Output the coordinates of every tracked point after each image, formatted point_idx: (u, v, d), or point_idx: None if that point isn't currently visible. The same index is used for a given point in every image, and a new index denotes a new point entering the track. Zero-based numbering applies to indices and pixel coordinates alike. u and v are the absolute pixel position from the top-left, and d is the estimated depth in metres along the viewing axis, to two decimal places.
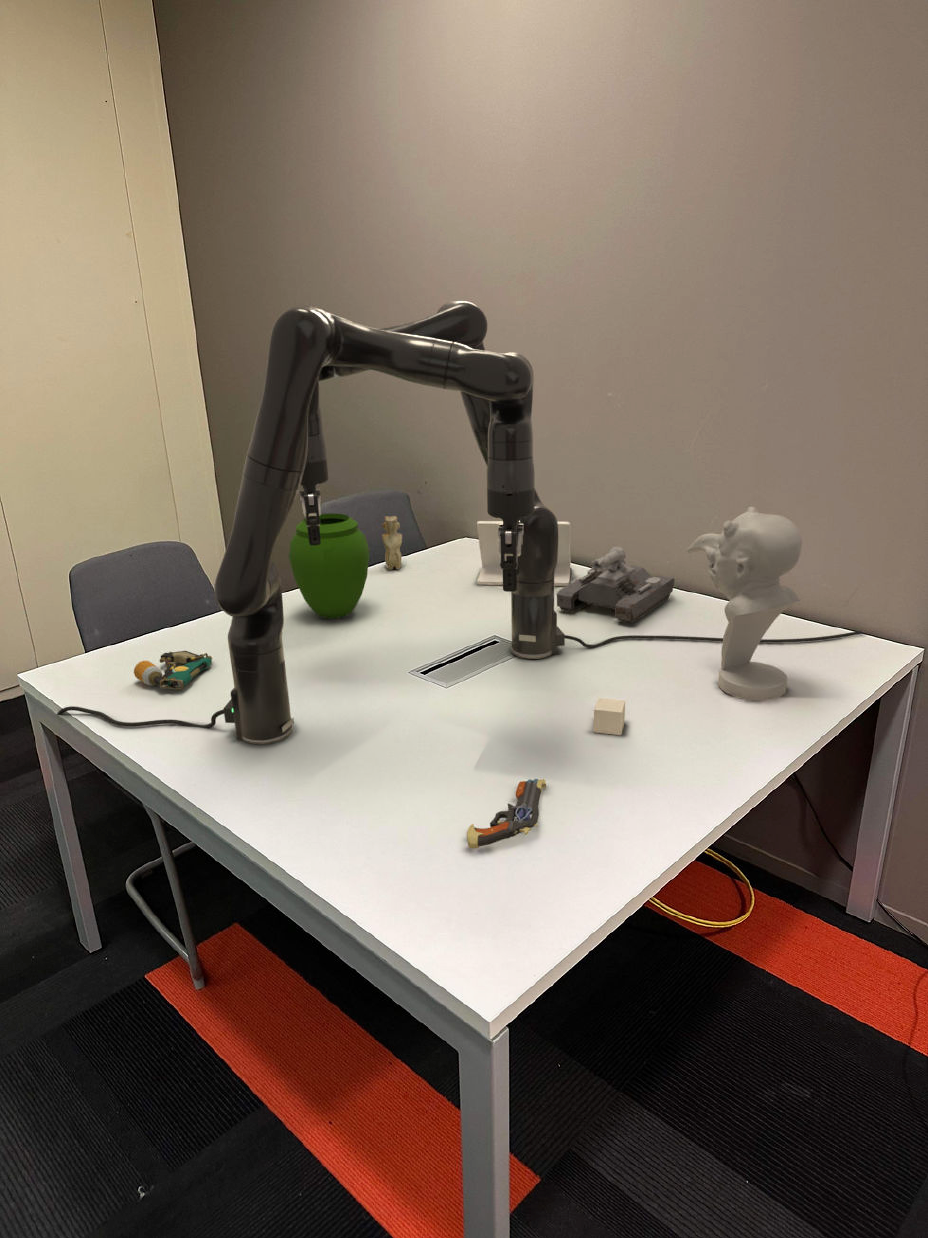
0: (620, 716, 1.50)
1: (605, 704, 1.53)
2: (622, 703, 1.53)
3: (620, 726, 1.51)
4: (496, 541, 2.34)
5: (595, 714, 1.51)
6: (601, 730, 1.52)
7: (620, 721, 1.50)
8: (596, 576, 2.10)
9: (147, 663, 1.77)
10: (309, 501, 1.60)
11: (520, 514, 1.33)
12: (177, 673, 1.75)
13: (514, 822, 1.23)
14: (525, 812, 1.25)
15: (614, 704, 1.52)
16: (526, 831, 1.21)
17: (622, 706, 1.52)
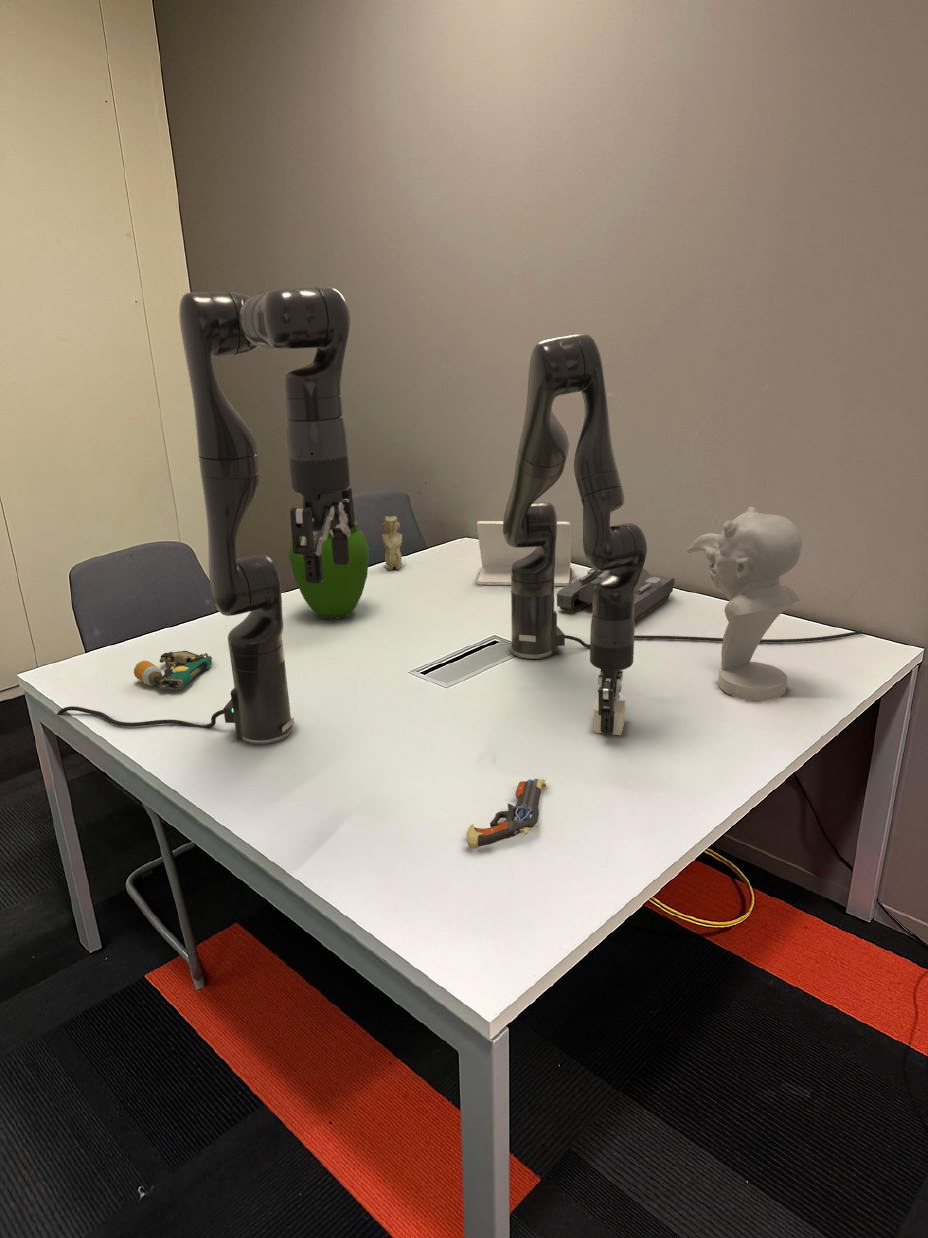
0: (620, 716, 1.50)
1: None
2: (622, 703, 1.53)
3: (620, 726, 1.51)
4: (496, 541, 2.34)
5: (595, 714, 1.51)
6: None
7: (620, 721, 1.50)
8: (596, 576, 2.10)
9: (147, 663, 1.77)
10: (603, 696, 1.45)
11: None
12: (177, 673, 1.75)
13: (514, 822, 1.23)
14: (525, 812, 1.25)
15: None
16: (526, 831, 1.21)
17: (622, 706, 1.52)
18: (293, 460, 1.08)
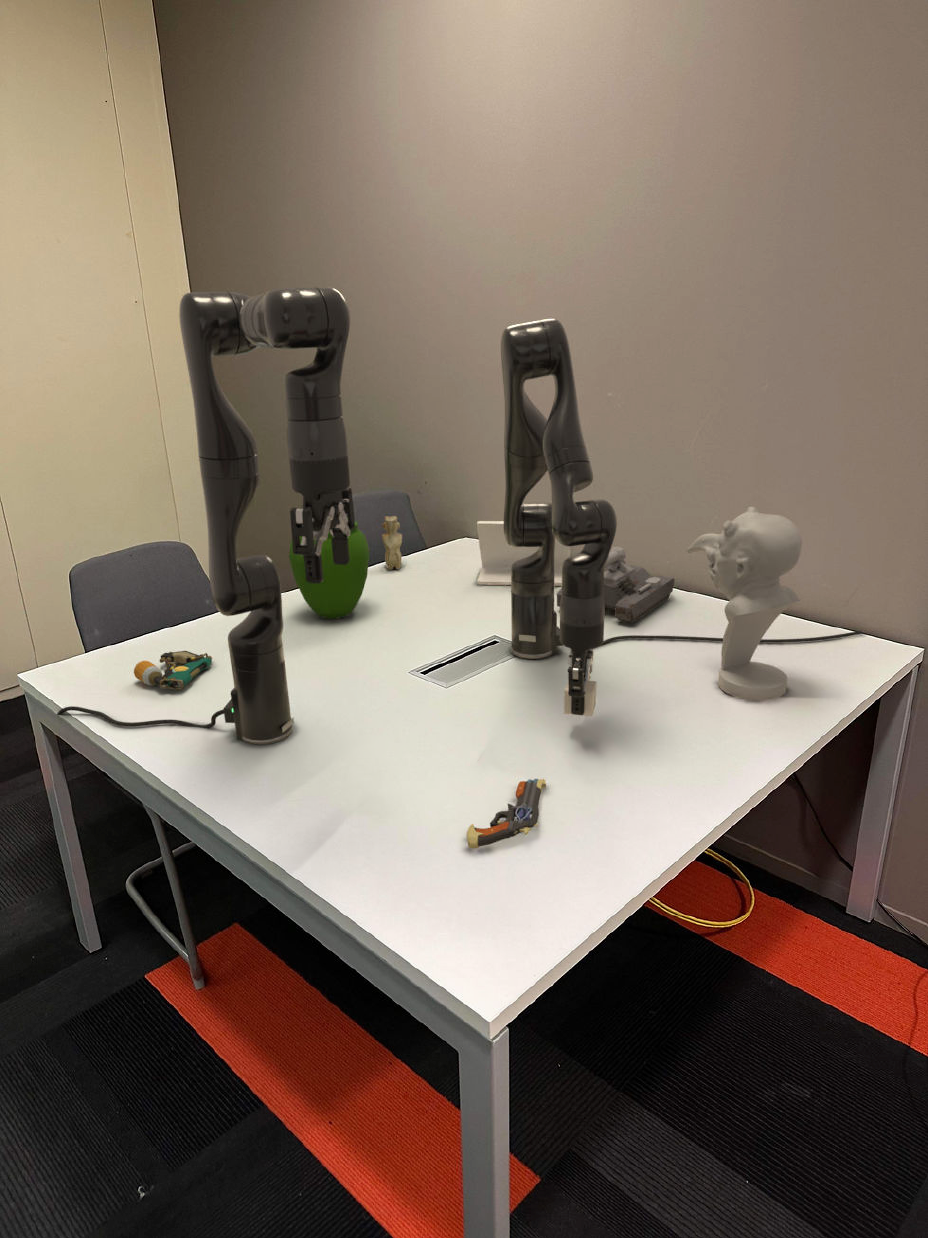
0: (591, 697, 1.47)
1: None
2: (593, 684, 1.50)
3: (591, 707, 1.48)
4: (496, 541, 2.34)
5: (565, 695, 1.48)
6: None
7: (591, 702, 1.47)
8: None
9: (147, 663, 1.77)
10: (573, 676, 1.42)
11: None
12: (177, 673, 1.75)
13: (514, 822, 1.23)
14: (525, 812, 1.25)
15: None
16: (526, 831, 1.21)
17: (593, 687, 1.49)
18: (293, 460, 1.08)
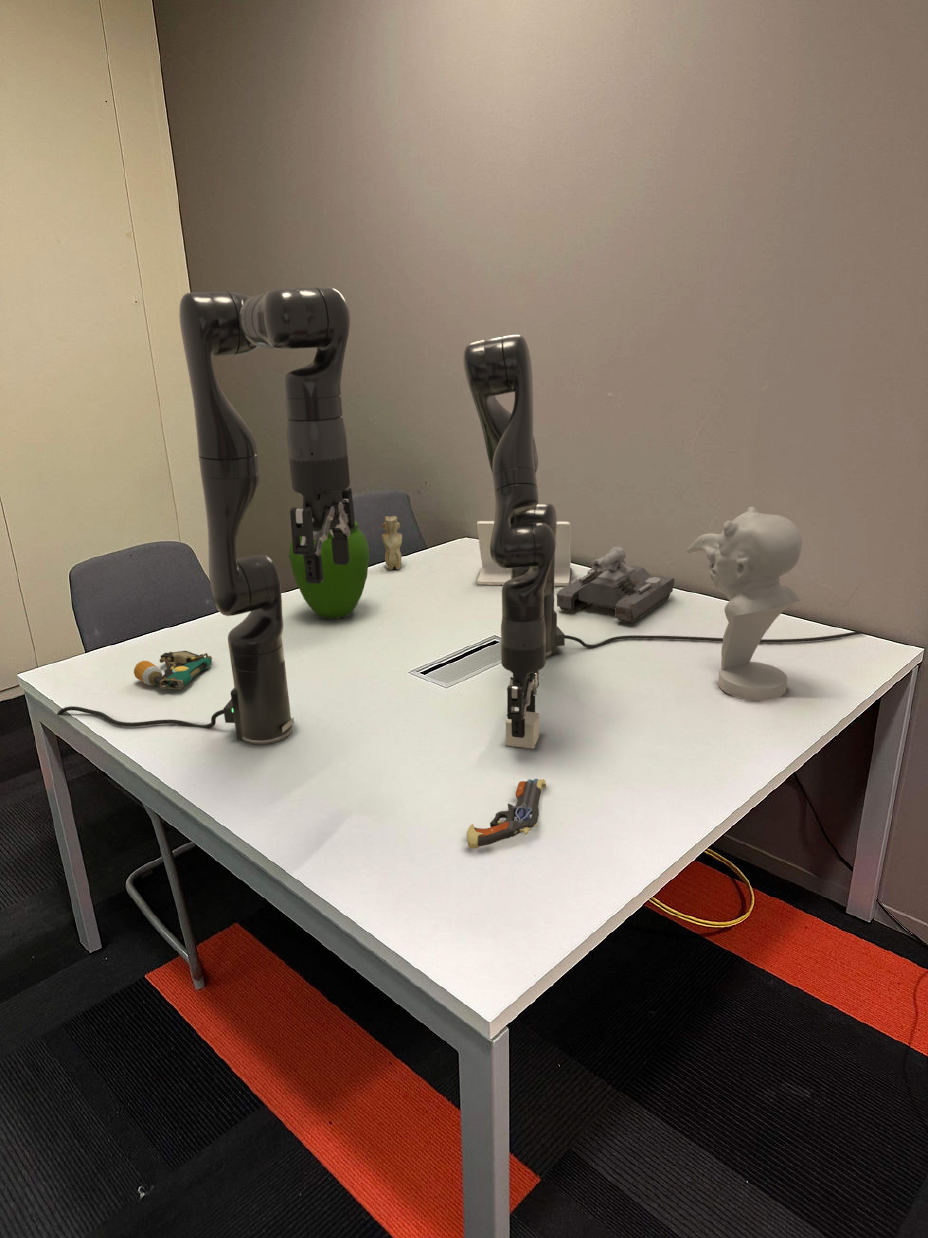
0: (532, 729, 1.46)
1: None
2: (536, 715, 1.49)
3: (532, 739, 1.47)
4: None
5: (507, 727, 1.48)
6: (514, 743, 1.48)
7: (532, 734, 1.47)
8: (596, 576, 2.10)
9: (147, 663, 1.77)
10: (512, 694, 1.40)
11: None
12: (177, 673, 1.75)
13: (514, 822, 1.23)
14: (525, 812, 1.25)
15: (527, 717, 1.49)
16: (526, 831, 1.21)
17: (535, 719, 1.48)
18: (293, 460, 1.08)
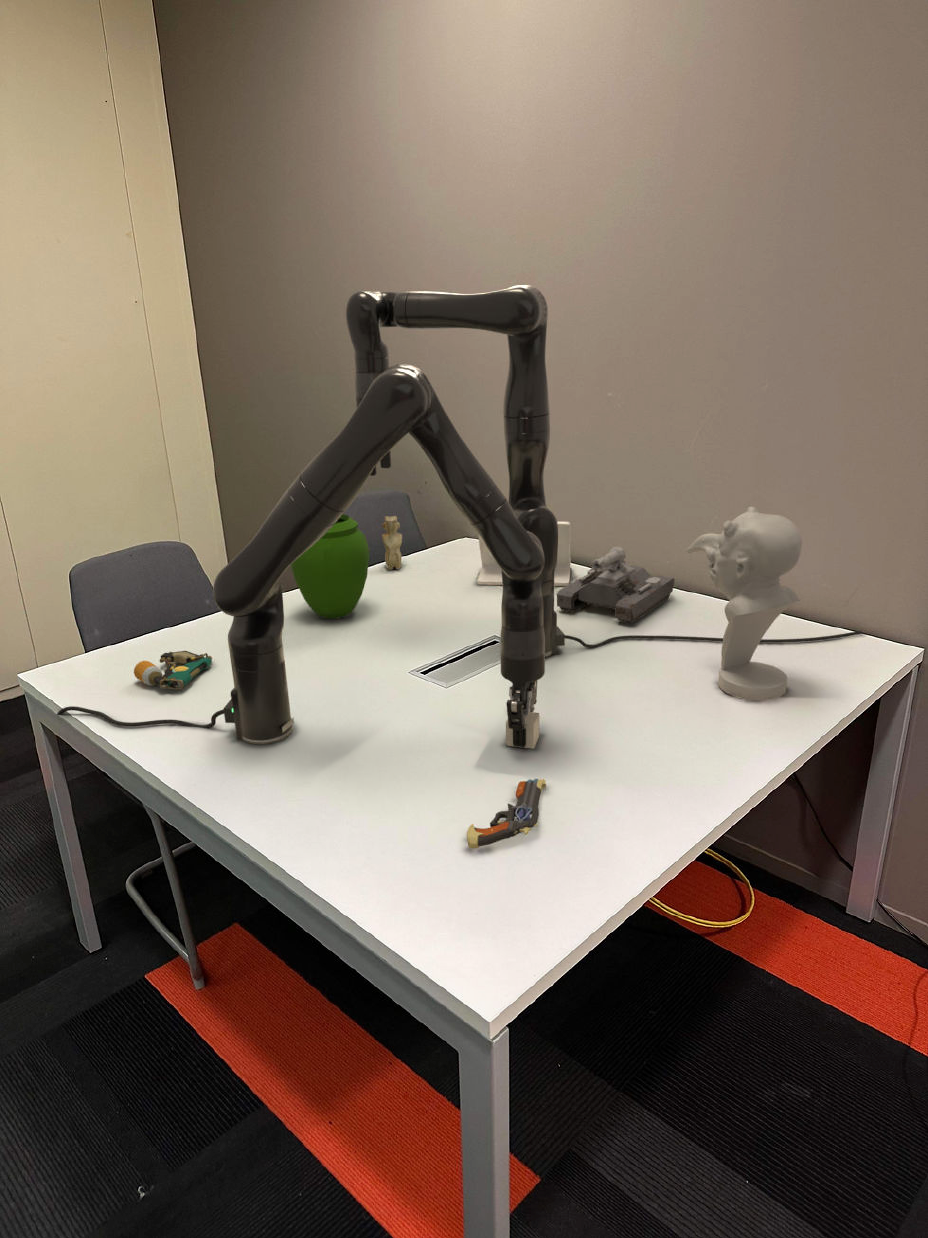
0: (532, 729, 1.46)
1: None
2: (536, 715, 1.49)
3: (532, 739, 1.47)
4: None
5: (507, 727, 1.48)
6: None
7: (532, 734, 1.47)
8: (596, 576, 2.10)
9: (147, 663, 1.77)
10: None
11: None
12: (177, 673, 1.75)
13: (514, 822, 1.23)
14: (525, 812, 1.25)
15: (527, 717, 1.49)
16: (526, 831, 1.21)
17: (535, 719, 1.48)
18: (506, 657, 1.42)
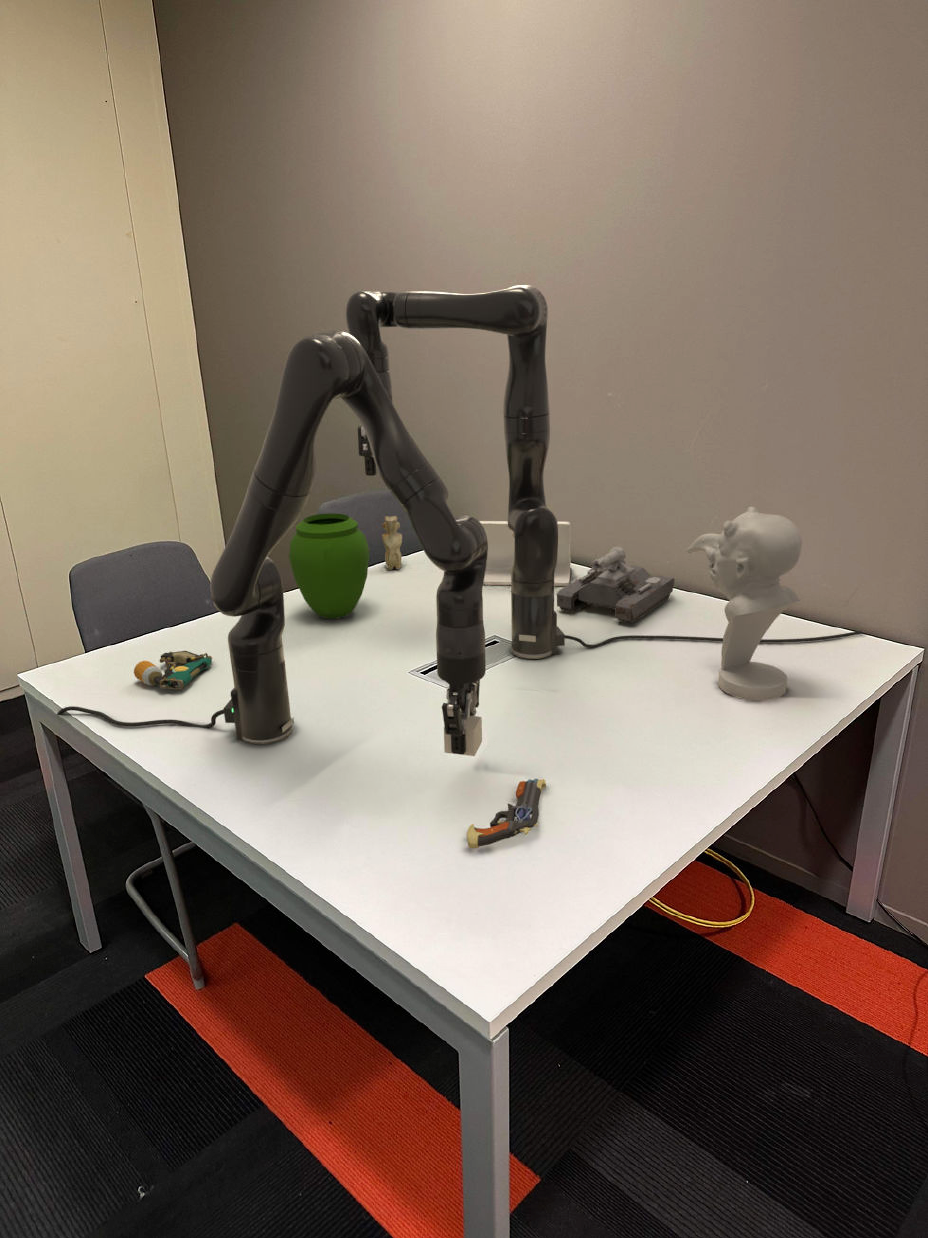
0: (472, 735, 1.33)
1: None
2: (477, 720, 1.36)
3: (473, 746, 1.34)
4: (496, 541, 2.34)
5: None
6: None
7: (472, 740, 1.34)
8: (596, 576, 2.10)
9: (147, 663, 1.77)
10: (361, 433, 1.74)
11: None
12: (177, 673, 1.75)
13: (514, 822, 1.23)
14: (525, 812, 1.25)
15: (468, 721, 1.36)
16: (526, 831, 1.21)
17: (476, 723, 1.35)
18: (442, 656, 1.29)
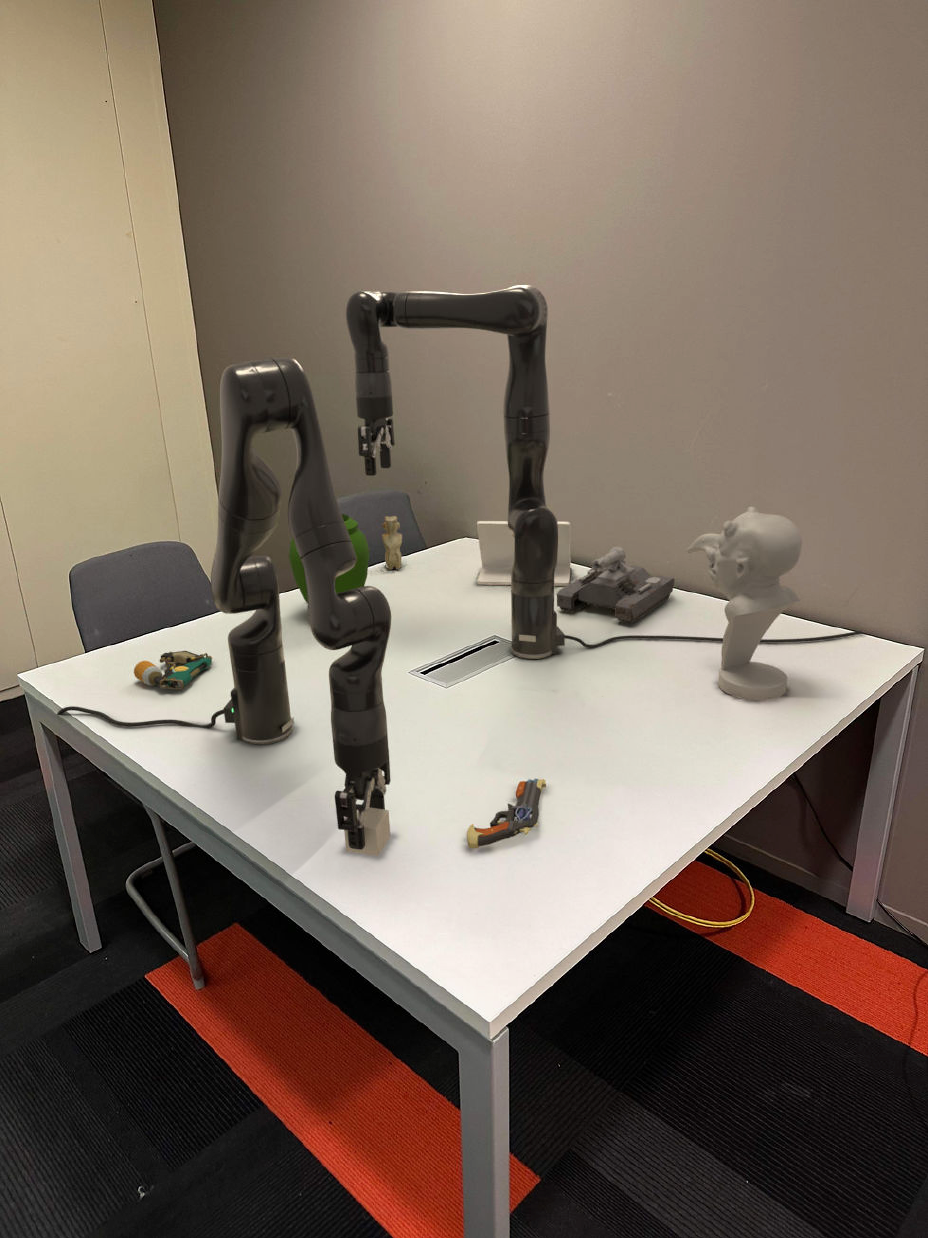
0: (374, 833, 1.19)
1: None
2: (383, 814, 1.22)
3: (376, 845, 1.20)
4: (496, 541, 2.34)
5: (345, 830, 1.20)
6: (354, 849, 1.21)
7: (375, 839, 1.19)
8: (596, 576, 2.10)
9: (147, 663, 1.77)
10: (361, 433, 1.74)
11: None
12: (177, 673, 1.75)
13: (514, 822, 1.23)
14: (525, 812, 1.25)
15: (372, 816, 1.22)
16: (526, 831, 1.21)
17: (380, 819, 1.21)
18: (336, 742, 1.15)
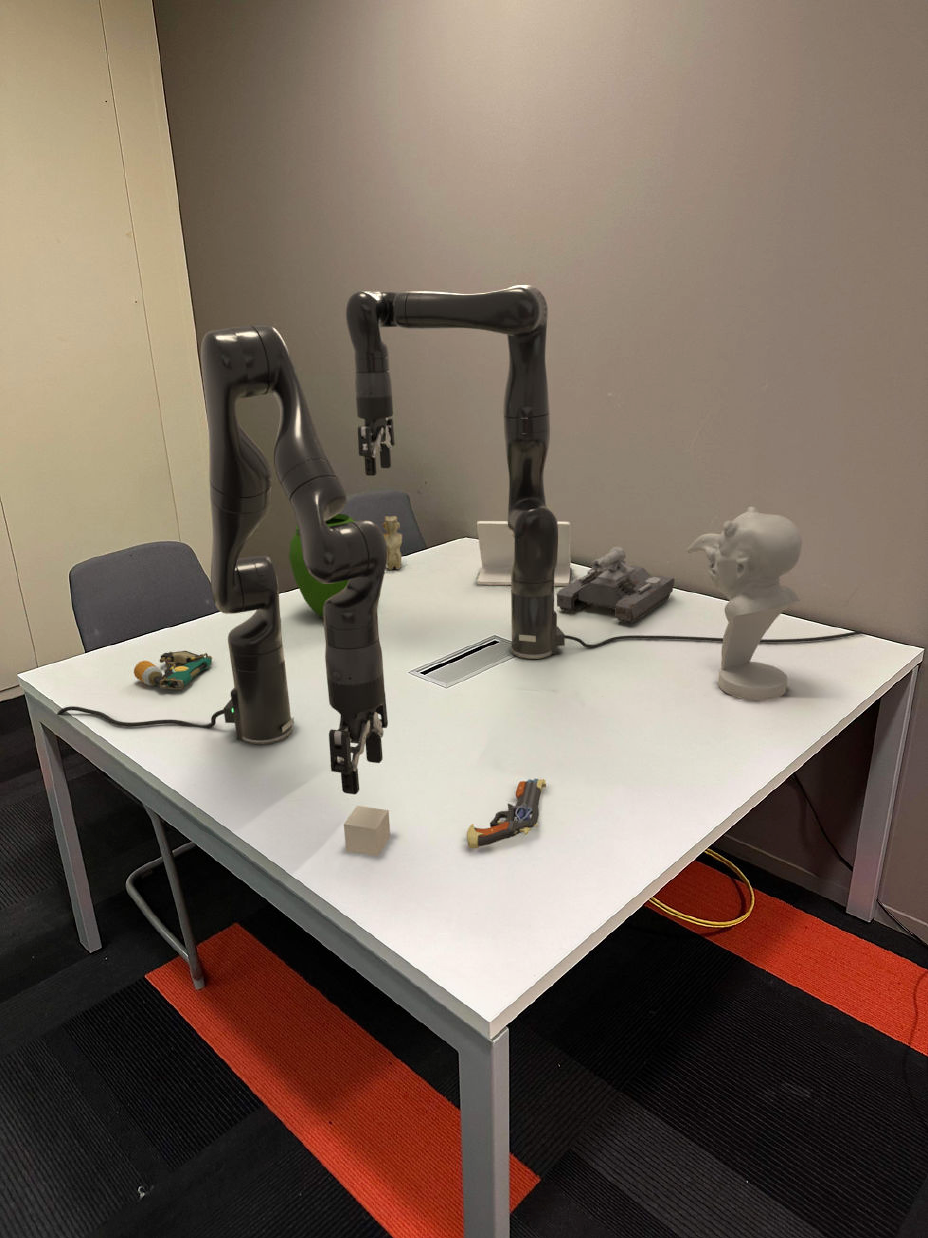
0: (374, 833, 1.19)
1: (361, 815, 1.22)
2: (383, 814, 1.22)
3: (376, 845, 1.20)
4: (496, 541, 2.34)
5: (345, 830, 1.20)
6: (354, 849, 1.21)
7: (375, 839, 1.19)
8: (596, 576, 2.10)
9: (147, 663, 1.77)
10: (361, 433, 1.74)
11: None
12: (177, 673, 1.75)
13: (514, 822, 1.23)
14: (525, 812, 1.25)
15: (372, 816, 1.22)
16: (526, 831, 1.21)
17: (380, 819, 1.21)
18: (331, 681, 1.12)
